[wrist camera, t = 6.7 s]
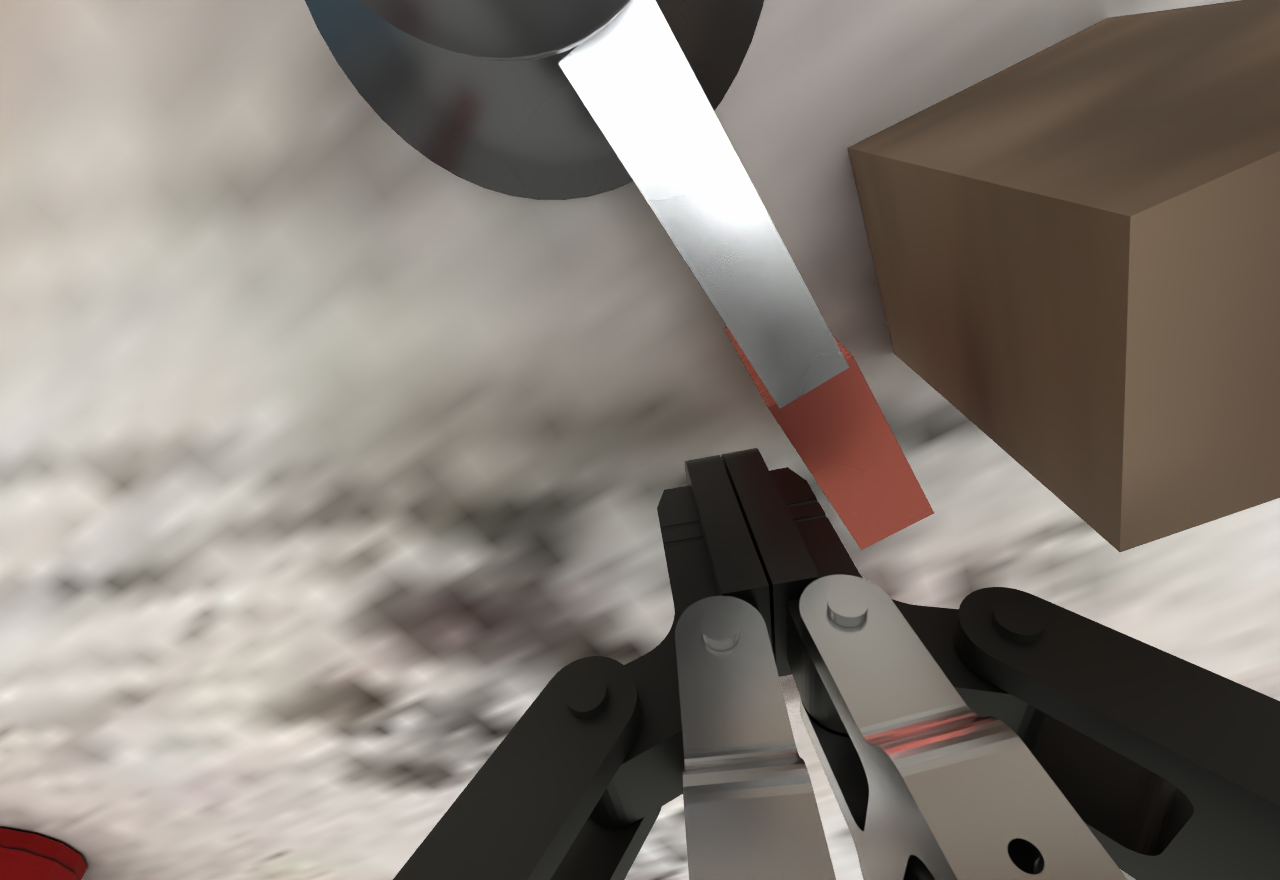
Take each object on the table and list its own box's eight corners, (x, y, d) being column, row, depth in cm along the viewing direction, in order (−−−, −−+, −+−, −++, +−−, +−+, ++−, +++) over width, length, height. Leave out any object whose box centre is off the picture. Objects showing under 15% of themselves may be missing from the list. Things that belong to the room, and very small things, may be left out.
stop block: (1106, 18, 10) (1785, -72, 4) (1104, 262, 13) (1533, 409, 7) (846, 147, 11) (1130, 216, 5) (893, 353, 14) (1119, 552, 8)
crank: (561, 76, 9) (547, 72, 6) (635, 12, 9) (659, -26, 6) (803, 450, 14) (865, 556, 11) (859, 419, 13) (939, 520, 10)
